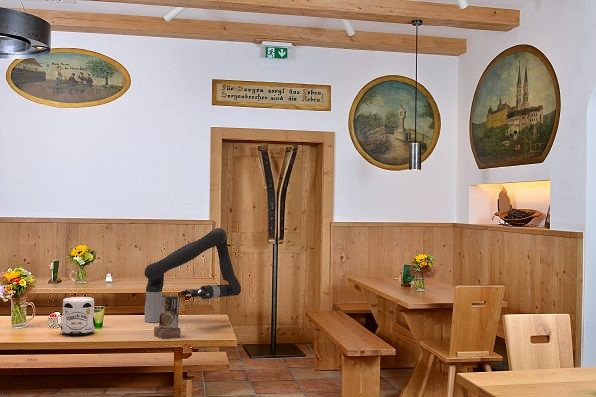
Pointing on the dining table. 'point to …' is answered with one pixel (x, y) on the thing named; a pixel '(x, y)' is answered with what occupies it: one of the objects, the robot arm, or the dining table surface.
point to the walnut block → (166, 332)
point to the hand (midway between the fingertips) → (186, 294)
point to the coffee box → (169, 311)
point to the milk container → (78, 316)
